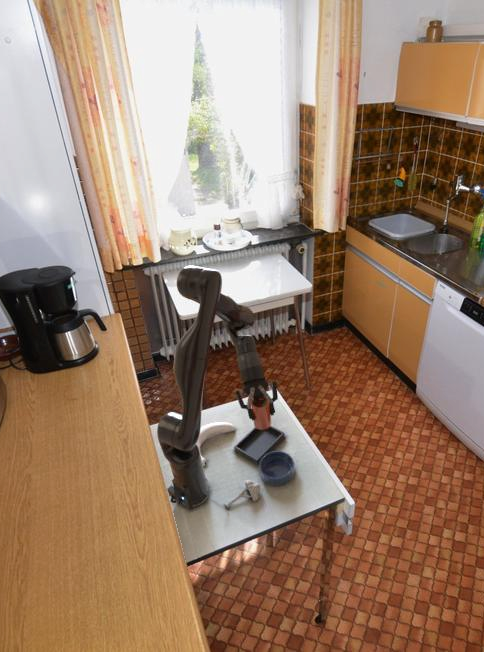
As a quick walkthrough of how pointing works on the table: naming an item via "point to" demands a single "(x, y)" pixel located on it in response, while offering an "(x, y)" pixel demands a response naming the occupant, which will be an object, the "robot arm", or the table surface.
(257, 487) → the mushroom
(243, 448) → the tray
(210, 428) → the banana
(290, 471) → the bowl
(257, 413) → the cup
